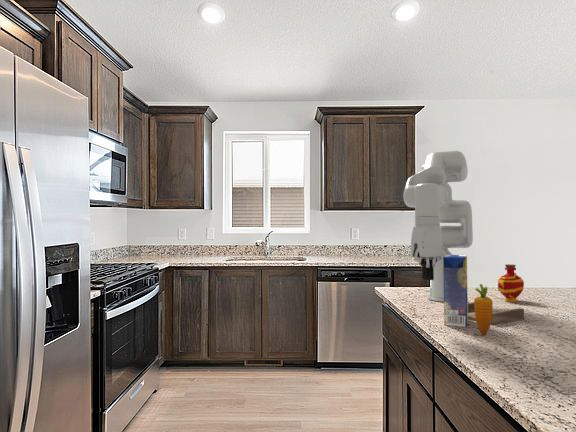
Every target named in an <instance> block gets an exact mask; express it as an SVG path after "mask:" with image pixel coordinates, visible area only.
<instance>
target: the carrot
mask: <svg viewBox="0 0 576 432" xmlns="http://www.w3.org/2000/svg"><path fill="white" fill-rule="evenodd" d="M479 287H480V288H478V287H477V288H474V289H475V291H477V292H478V293H479V296H475V298H474V299H473V302H474V308H475V317H476V321H475V322H476V325H477V328H478V330H479V332H480V334H481V336H483V337H485V336H486V335H487V334H488V332H489V330H490V328H491V320H492V310H493V308H494V307H493V304H494V303H493V299H491V298H490V297H488V296H487V294H488V293H487V292H488V287H487V286H484V285H483V283H480V284H479Z"/></svg>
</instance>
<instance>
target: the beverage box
mask: <svg viewBox="0 0 576 432" xmlns="http://www.w3.org/2000/svg"><path fill="white" fill-rule="evenodd" d="M443 261H444V302H443V321H444V322H443V323H444V326H449V327H450V326H454V327H465V328H468V324H469V323H468V322H469V319H468V303H469V301H468V299H469V298H468V297H469V296H468V255H467V254H452V255H445V256H444V257H443Z"/></svg>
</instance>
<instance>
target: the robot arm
mask: <svg viewBox="0 0 576 432" xmlns="http://www.w3.org/2000/svg"><path fill="white" fill-rule="evenodd" d="M467 165H468V163H467V160H466V156H465V154H464V153H462V152H461V151H459V150H449V151H448V150H447V151H436V152H432V153H430V154H428V155H427V156H426V158H425V160H424V164H423V165H422V167H421V170H420V171H418V172H417V173H415V174H413V175H412V176H410V177H408V179H407V181H406V184H405V186H404V189H403V202H404V204H405V205H406V207H408V208H414V226H413V227H412V232H411V239H410V256H411V258H413V261H414V262H416V263H418V264H420V267H421V269H422V272H421V273H422V280H424V281H425V280H426V281H431V287H428V288H427V289H426V290H425V292H427V293H429V295H428V296H427V299H428V300H430V301H435V302H442V303H444V261H443V257H444V256H445V255H453V253H452V252H451V251H450V250H449V249H468V248H470V247H472V245H473V242H474V241H473V237H474V236H473V233H474V230H473V213H472V212H473V211H472V210H473V209H472V205H471V203H470V202H469V201H468V200H465V199H459V200H458V199H456V200H453V189H452V187H451V185H450V184H449V183H460V182H464V181H465V180H466V179H467V177H468V166H467ZM440 224H445V225H440ZM447 224H459V225H447Z"/></svg>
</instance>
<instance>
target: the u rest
mask: <svg viewBox="0 0 576 432" xmlns="http://www.w3.org/2000/svg"><path fill="white" fill-rule="evenodd" d="M523 320H525V308H520V307H519V308H512V309H508V310H501V311H500V310H499V311H498V310H494V309H492V320H491V325H492V326H495V325H500V324H501V325H502V324H506V323H511V322H512V323H513V322H517V321H523ZM468 321H474V322H476V317H475V308H474V301H472V302H468ZM491 325H490V326H491Z"/></svg>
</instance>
